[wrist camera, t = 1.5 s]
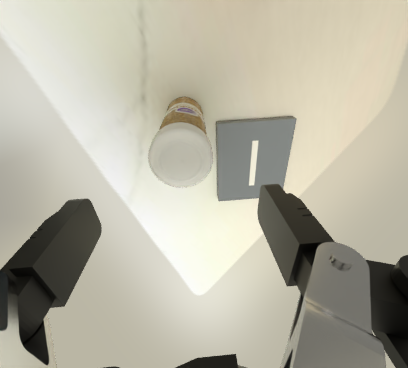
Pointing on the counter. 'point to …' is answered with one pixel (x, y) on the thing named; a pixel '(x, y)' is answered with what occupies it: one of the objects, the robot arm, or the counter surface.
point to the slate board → (252, 155)
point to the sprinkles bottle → (181, 146)
